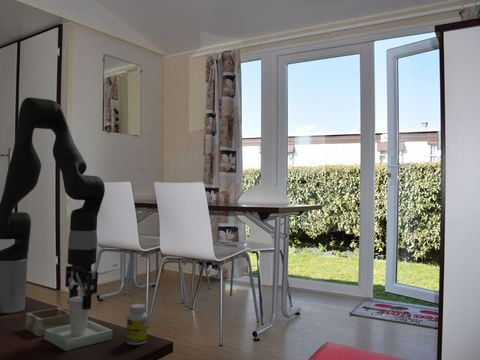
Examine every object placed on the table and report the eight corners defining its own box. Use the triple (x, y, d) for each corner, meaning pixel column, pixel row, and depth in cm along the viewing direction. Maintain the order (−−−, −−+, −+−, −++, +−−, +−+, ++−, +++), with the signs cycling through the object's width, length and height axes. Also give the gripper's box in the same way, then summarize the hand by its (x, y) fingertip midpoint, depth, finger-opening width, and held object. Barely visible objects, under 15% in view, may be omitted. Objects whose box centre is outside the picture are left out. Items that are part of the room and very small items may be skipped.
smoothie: (81, 339, 109) (84, 285, 110) (60, 336, 110) (63, 284, 111) (94, 331, 115) (97, 281, 116) (74, 329, 117) (77, 280, 117)
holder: (25, 328, 120) (26, 313, 120) (58, 322, 127) (58, 307, 128) (39, 336, 114) (39, 319, 114) (72, 329, 121) (73, 313, 121)
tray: (44, 338, 112) (44, 329, 112) (88, 328, 122) (89, 320, 122) (65, 350, 104) (66, 341, 104) (112, 339, 113) (112, 330, 113)
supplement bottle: (122, 343, 110) (123, 306, 110) (133, 337, 115) (135, 302, 115) (139, 346, 108) (140, 309, 108) (150, 340, 113) (151, 304, 114)
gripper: (57, 245, 116) (54, 304, 115) (82, 250, 107) (79, 314, 106) (83, 243, 122) (80, 299, 121) (108, 248, 112) (105, 309, 111)
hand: (79, 306), depth 113 cm, fingers open, 7 cm apart
